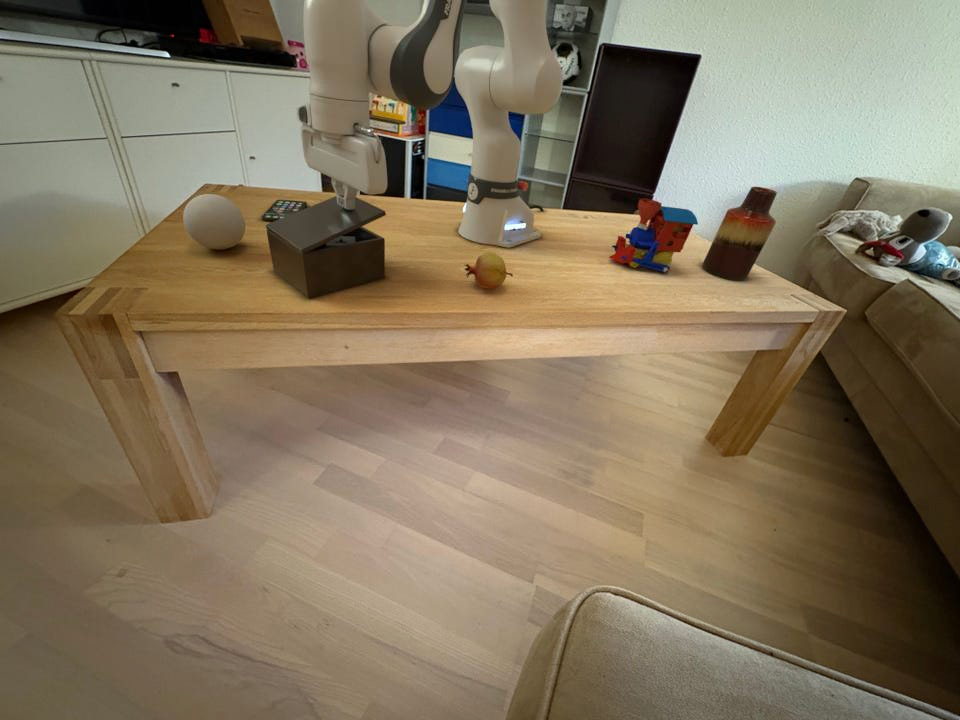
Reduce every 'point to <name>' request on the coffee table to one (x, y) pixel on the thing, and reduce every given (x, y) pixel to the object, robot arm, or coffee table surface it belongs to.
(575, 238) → the coffee table surface
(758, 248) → the vase
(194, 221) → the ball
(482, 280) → the fruit
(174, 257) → the coffee table surface
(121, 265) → the coffee table surface
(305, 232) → the lid
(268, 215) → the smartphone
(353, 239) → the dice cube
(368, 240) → the box
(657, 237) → the toy train
